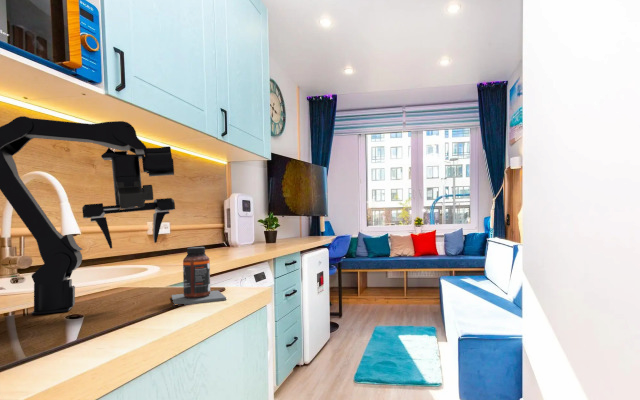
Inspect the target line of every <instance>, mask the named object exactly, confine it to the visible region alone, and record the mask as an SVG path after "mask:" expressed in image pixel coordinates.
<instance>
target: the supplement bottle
mask: <svg viewBox="0 0 640 400" xmlns="http://www.w3.org/2000/svg"><path fill="white" fill-rule="evenodd" d="M186 249H187V251H186V254H187V255H186V256H185V257H184V258H183V261H182V267H183V268H182V275H183V277H182V279H183V284H182V285H183V294H184V296H185V297H187V298H199V297H205V296H208V295H209V294H210V291H211V271H210V269H211V266H210V256H208V255H207V254H206V247H205V246H195V247H188V248H186Z"/></svg>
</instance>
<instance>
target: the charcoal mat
mask: <svg viewBox="0 0 640 400" xmlns="http://www.w3.org/2000/svg"><path fill="white" fill-rule="evenodd" d="M171 297H172V298H171ZM171 297H170V298H171V301H172V300H173V301H172V303H174V304H173V306H174V305H175V304H184V305H183V306H186V305H194V304H204V303H213V302H221V301H227V297H226V296H225V295H224V294H223V293H222V292H221V291H219V290H210V294H209V295H208V296H205V297H199V298H187V297H185V296H184V293H177V294H171Z"/></svg>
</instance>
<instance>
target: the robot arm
mask: <svg viewBox="0 0 640 400" xmlns="http://www.w3.org/2000/svg"><path fill="white" fill-rule="evenodd" d="M33 139H41V140H51V141H52V140H55V141H56V140H57V141H65V142H66V141H67V142H77V143H90V144H96V145H100V146H103V147H106V148H107V149H106V150H105V152H104V153H102V154H101V159H102V160H103V161H111V169H112V179H113V191H114V199H115V204H113V205H104V203H89V204H84V205H83V206H82V207H81V208H82V209H81V210H82V218H83V219H90V222H95V223H96V224H97V225H98V228H100V230H101V232H102V233H103V235H104V238H105V240H106V242H107V244H108V246H109V249H113V243H112V242H113V241H112V237H111V233H110V229H109V224H108V221H107V217H105V215H109V214H111V215H112V214H120V213H121V214H122V213H130V212H143V211H144V212H145V211H154V213H153V218H152V219H153V220H152V222H153V225H152V227H153V228H152V229H153V230H152V231H153V232H152V233H153V234H152V237H153V242H154V244H157V243H158V239H159V234H160V230H161V225H162V223H163V220H164V217H165V215H169V214H170V211H174V210H176V205H175V200H174V199H173V198H172V197H167V198H156V199H154V189H153V185H152V184H144V185H142V177H141V166H140V159H141V161H142V162H141V163H142V170H143V173H146V174H148V177H162V176H163V177H164V176H165V177H166V176H174V175H175V166H174V165H175V164H174V158H173V156H172V150H171V149H172V148H171V146H162V147H147V145H145V144H144V142H142V141H141V140H140V139H139V137H138V136H137V131H136V129H135V127H134V126H133V125H132V124H131V123H130V122H127V121H124V120H120V121H119V120H118V121H117V120H115V121H104V122H99V123H98V122H97V123H83V122H72V121H63V120H54V119H45V118H44V119H42V118H32V117H28V116H24V115H22V116H18V117H17V116H16V117H15V118H14V119H12V120H11V121H9V122H8V123H6V124H2V125H1V126H0V192H1V194H3V196H4V197H5V199H6V200H7V202H8V203H9V204H10V206H11V208H13V210H14V211H15V213H16V214H17V215H18V217H19V218H20V220H21V221H22V222H23V224H24V225H25V227H26V228H27V230H28V231H29V232H30V233H31V235H32V237H33V238H34V239H35V241H36V243H37V244H36V245H37V248H38V252H39V255H40V257H41V259H42V263H43V264H42V265H41V266H40V267H39V268H38V269H37V270H36V271H35V272H33V273H32V274H31V278H32V281H33V311H32V312H31V315H32V316H34V315H44V314H54V313H63V312H64V313H65V312H69V311H70V310H71V309H72V308H73V307H74V306H75V305H76V286H75V285H73V279H72V278H71V276H72V274H73V272H74V271H75V270H77V269H78V268H79V267H80V265H81V264H82V262H83V254H82V252H81V251H83V248H82V247H81V246H79V245H78V244H77V242H76V239H75V237H74V235H73V234H65V235H63V234H62V233H60V231H58V229H57V228H56V227H55V226H54V224H53V223H52V222H51V220H50V218H49V217H48V216H47V214H46V213H45V211H44V209H42V207H41V205H40V204H39V202H38V201H37V200H36V199H35V197H34V195H33V194H32V192H31V191H30V189H28V187H27V186H26V184H25V183H24V181H23V180H22V178H21V176H20V174H19V171H18V168H17V164H16V162H15V159H14V158H13V157H14V155H16V154H18V153H19V152H20V151H21V150H22V149H23V148H24V147H25V146H26V145H27V144H28V143H29V142H30V141H32V140H33ZM112 149H113V150H112ZM114 150H115V151H114ZM116 150H117V151H116ZM128 151H129V152H131V154H130V153H128ZM146 201H147V202H146ZM148 201H153V202H148Z"/></svg>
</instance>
